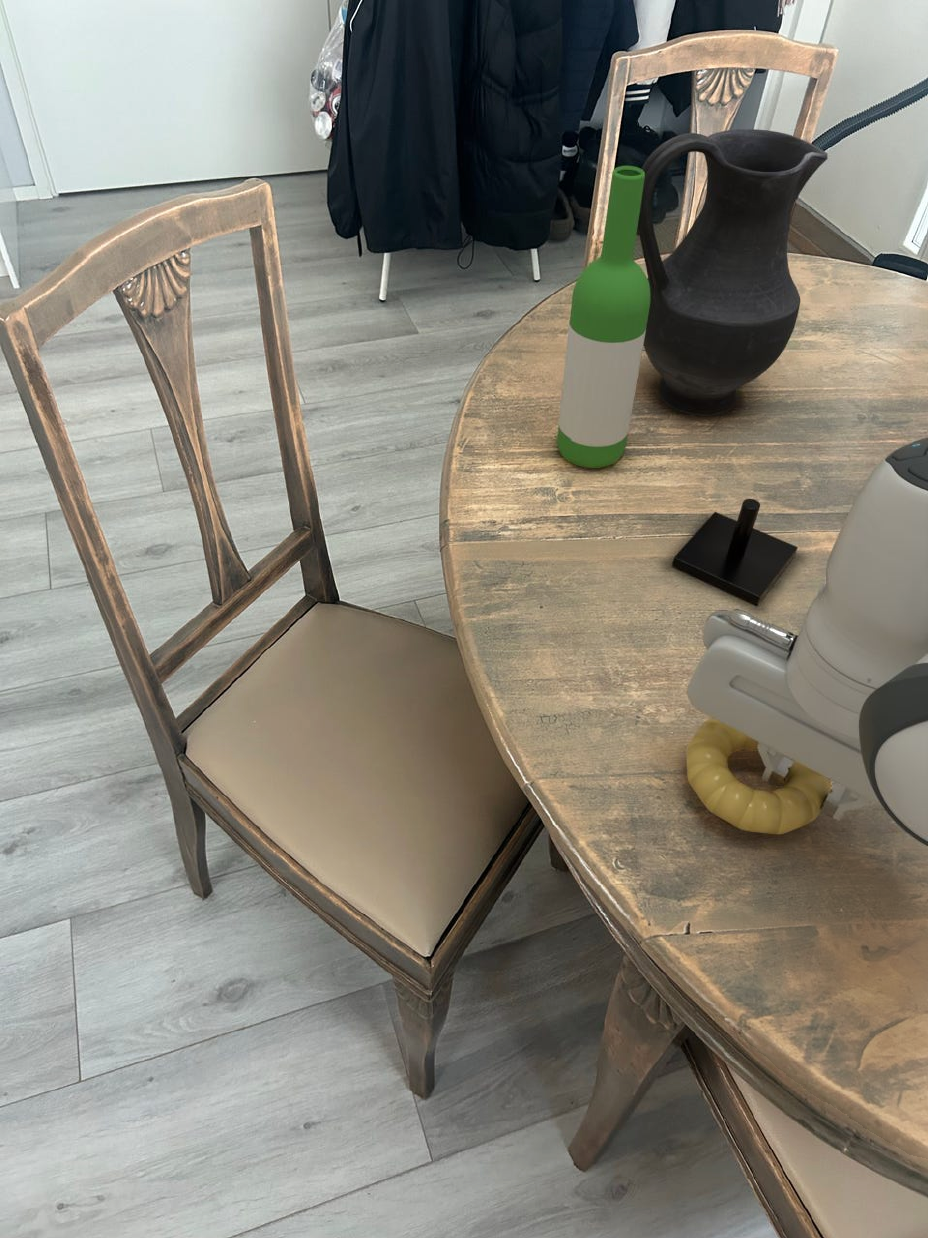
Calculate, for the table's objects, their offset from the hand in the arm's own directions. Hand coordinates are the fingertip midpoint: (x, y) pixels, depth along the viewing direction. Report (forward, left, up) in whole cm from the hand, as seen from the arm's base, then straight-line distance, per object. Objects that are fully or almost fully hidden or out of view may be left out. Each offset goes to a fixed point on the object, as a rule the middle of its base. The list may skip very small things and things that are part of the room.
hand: (803, 794), depth 64 cm
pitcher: (+34, -48, -3) cm, 59 cm away
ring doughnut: (+4, 0, 0) cm, 4 cm away
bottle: (+37, -31, -3) cm, 49 cm away
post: (+16, -24, -3) cm, 29 cm away
